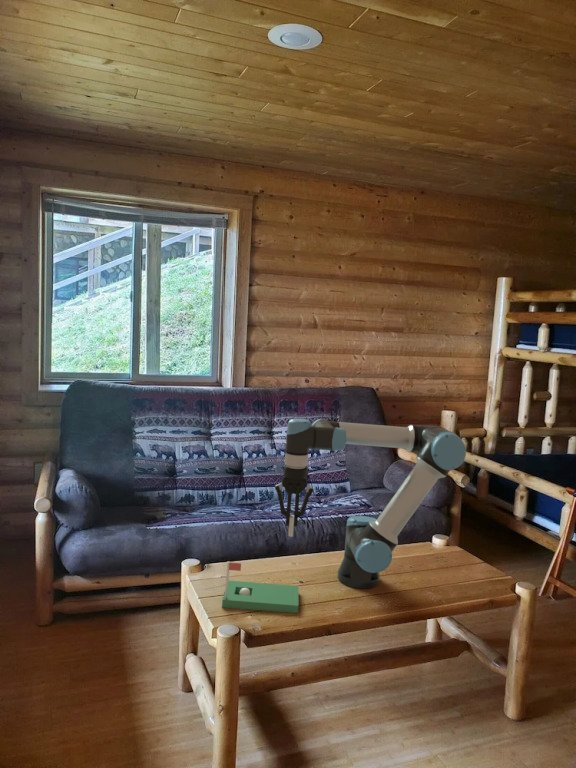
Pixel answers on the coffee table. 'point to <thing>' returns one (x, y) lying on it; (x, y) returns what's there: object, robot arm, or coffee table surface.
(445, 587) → the coffee table surface
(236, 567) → the pin
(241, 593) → the ball
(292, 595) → the green
